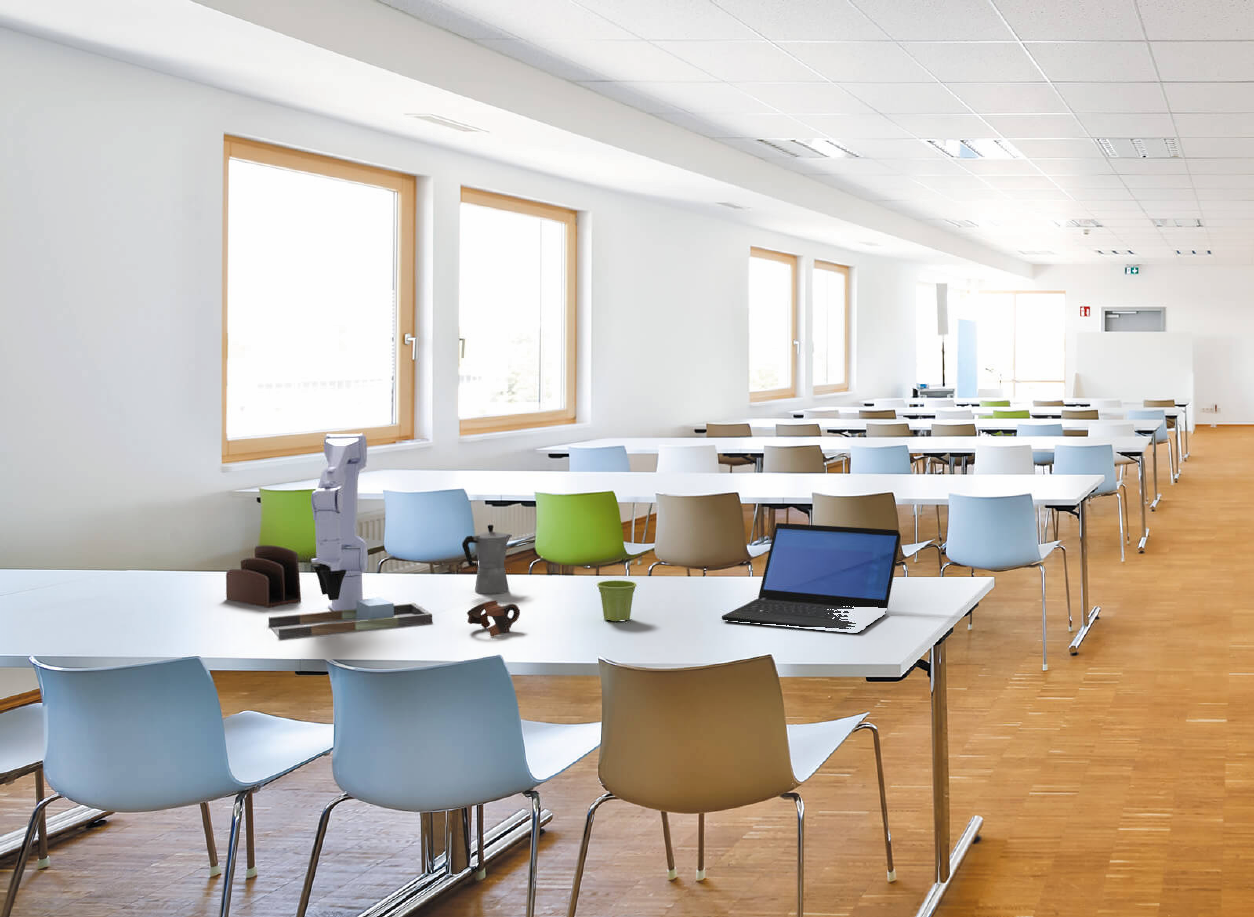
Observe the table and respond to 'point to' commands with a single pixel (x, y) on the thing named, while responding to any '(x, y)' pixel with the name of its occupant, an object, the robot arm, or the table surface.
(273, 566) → the letter holder
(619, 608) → the plant pot
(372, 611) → the blue block
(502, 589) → the coffeepot
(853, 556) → the laptop
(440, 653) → the table surface
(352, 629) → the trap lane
